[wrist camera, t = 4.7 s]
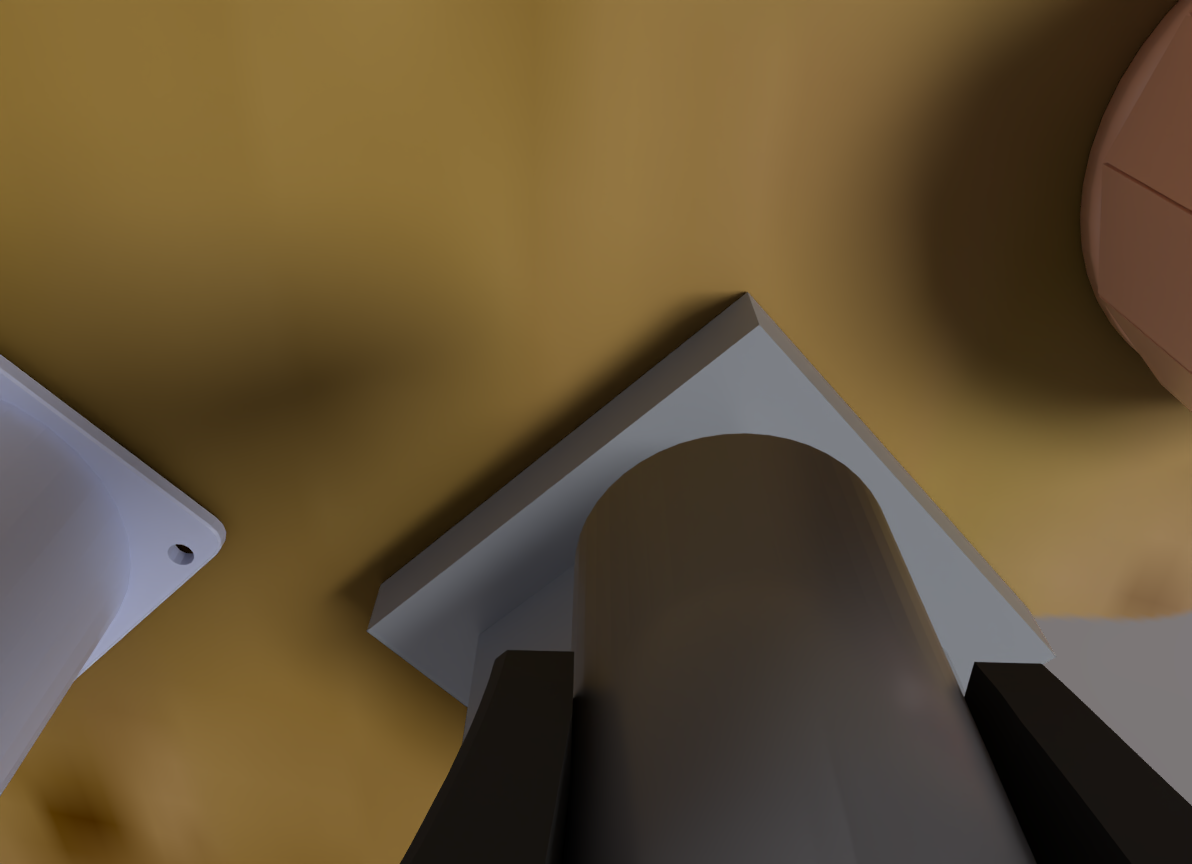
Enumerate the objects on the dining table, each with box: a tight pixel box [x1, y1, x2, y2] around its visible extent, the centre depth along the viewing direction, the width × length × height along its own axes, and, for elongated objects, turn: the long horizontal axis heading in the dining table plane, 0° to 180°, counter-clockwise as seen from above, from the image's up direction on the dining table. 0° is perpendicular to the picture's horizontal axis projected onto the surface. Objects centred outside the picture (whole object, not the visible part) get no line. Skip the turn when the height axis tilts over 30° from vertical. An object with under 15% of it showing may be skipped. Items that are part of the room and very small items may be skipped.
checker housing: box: [367, 292, 1056, 744], centre depth 19 cm, size 10×10×5 cm
